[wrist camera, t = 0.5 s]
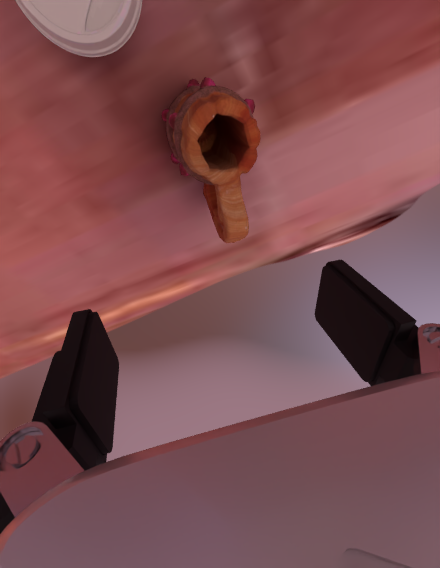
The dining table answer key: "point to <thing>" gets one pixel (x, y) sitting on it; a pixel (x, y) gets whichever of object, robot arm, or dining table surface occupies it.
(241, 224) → the mug
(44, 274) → the dining table surface
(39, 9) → the coffee cup
